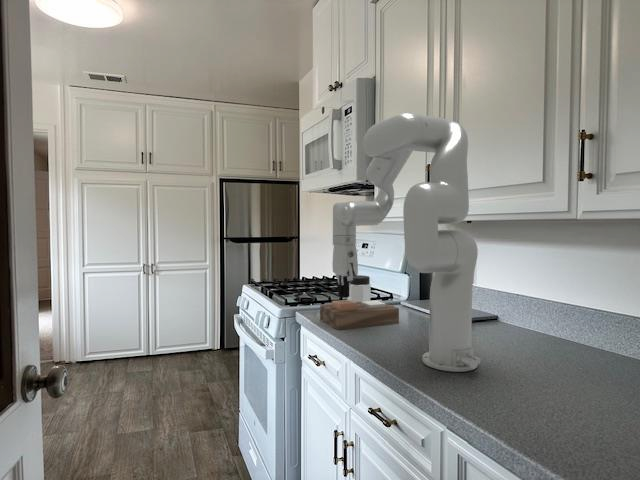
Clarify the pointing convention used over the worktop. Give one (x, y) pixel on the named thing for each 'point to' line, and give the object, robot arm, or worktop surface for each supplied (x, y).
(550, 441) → the worktop surface
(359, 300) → the jar
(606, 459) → the worktop surface
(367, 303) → the offwhite key
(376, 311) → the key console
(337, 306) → the terracotta key
